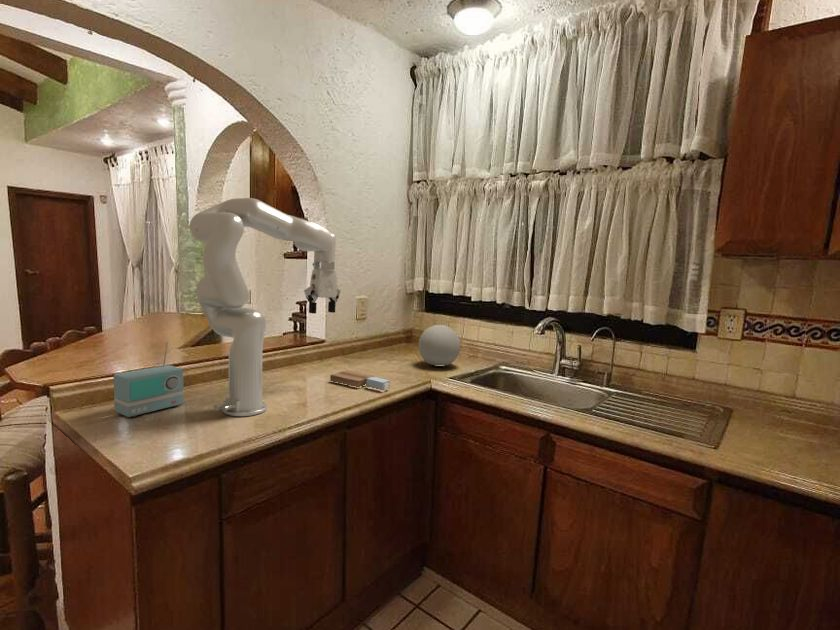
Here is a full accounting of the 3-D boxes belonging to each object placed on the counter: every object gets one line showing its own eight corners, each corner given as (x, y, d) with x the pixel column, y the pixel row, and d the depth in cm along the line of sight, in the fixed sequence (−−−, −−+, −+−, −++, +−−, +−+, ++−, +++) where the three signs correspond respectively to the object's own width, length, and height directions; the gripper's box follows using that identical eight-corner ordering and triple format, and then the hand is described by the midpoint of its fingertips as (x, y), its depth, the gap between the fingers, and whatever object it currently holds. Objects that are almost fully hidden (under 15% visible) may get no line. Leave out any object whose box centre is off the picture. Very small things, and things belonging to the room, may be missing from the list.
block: (366, 388, 161) (383, 393, 156) (366, 378, 161) (383, 382, 156) (373, 386, 164) (389, 391, 160) (373, 376, 164) (390, 380, 159)
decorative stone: (410, 363, 207) (412, 322, 205) (445, 360, 217) (447, 321, 215) (430, 372, 190) (432, 328, 188) (467, 369, 199) (469, 327, 197)
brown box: (358, 388, 160) (358, 381, 159) (330, 382, 167) (330, 374, 166) (374, 383, 168) (374, 376, 168) (347, 377, 175) (347, 370, 175)
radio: (129, 421, 118) (128, 350, 116) (114, 414, 123) (112, 346, 121) (186, 406, 132) (185, 343, 130) (170, 401, 137) (169, 339, 134)
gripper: (313, 265, 148) (311, 314, 149) (347, 268, 162) (345, 312, 164) (298, 265, 152) (297, 312, 153) (333, 267, 166) (331, 311, 168)
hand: (322, 312), depth 158 cm, fingers open, 9 cm apart
